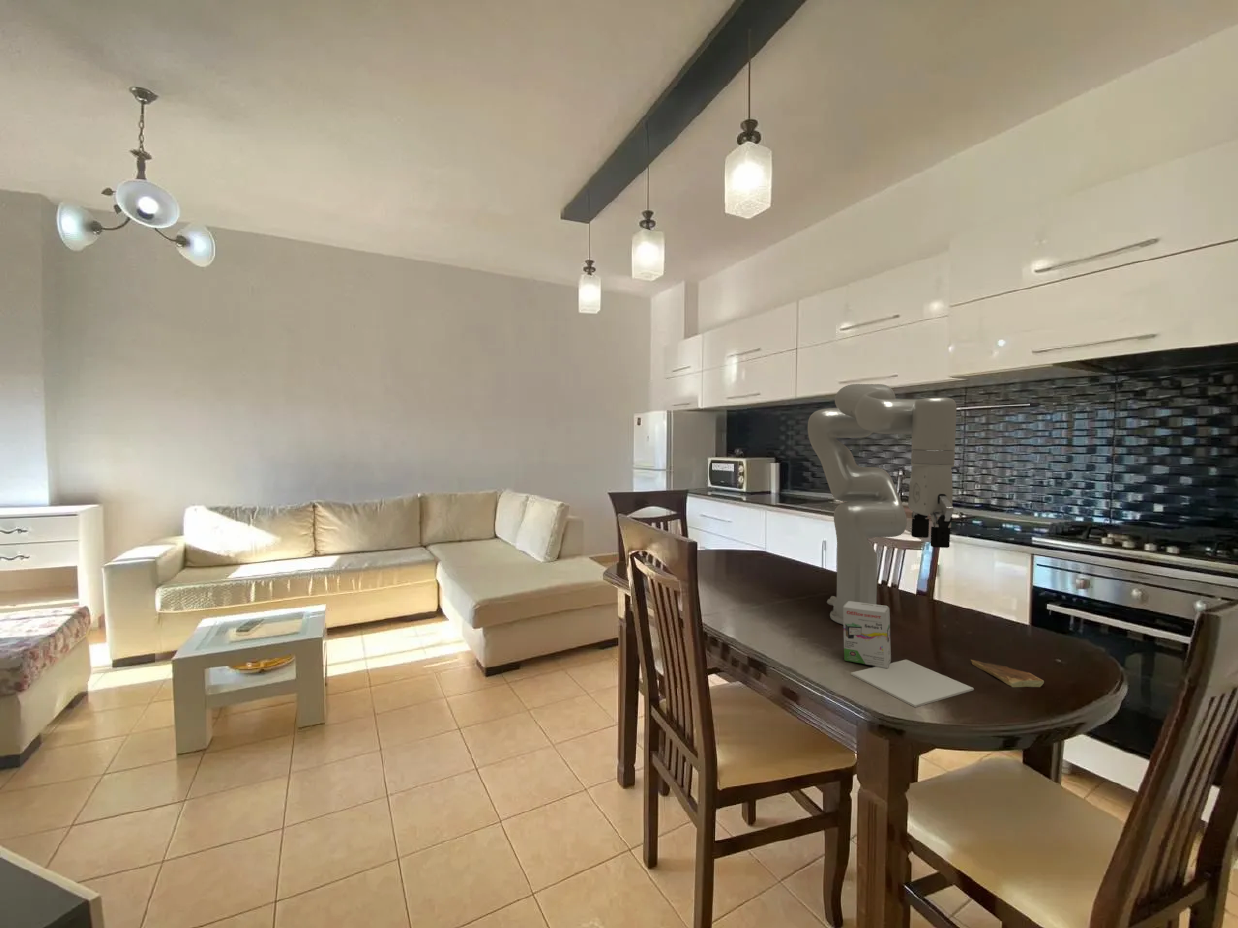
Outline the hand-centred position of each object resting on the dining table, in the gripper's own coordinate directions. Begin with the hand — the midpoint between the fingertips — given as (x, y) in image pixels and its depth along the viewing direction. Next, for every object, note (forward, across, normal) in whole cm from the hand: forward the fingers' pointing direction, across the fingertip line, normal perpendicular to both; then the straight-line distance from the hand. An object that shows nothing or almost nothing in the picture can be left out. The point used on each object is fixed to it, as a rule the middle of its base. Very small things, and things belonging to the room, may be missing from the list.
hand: (929, 541), depth 105 cm
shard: (+27, +2, +14) cm, 30 cm away
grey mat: (+26, +8, -6) cm, 28 cm away
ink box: (+26, 0, -11) cm, 29 cm away
